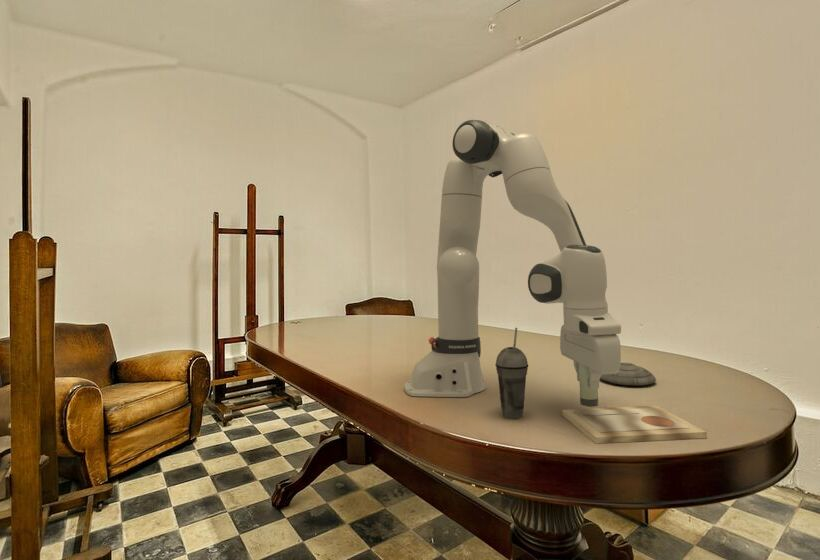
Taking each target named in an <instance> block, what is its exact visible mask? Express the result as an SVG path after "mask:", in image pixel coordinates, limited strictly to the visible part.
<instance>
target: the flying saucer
mask: <svg viewBox="0 0 820 560" xmlns="http://www.w3.org/2000/svg"><path fill="white" fill-rule="evenodd" d="M600 380H603V381H605V382H607V383H611V384H615V385H622V386H631V387H632V386H638V387H639V386H647V385H651V384H653V383H655V382H656V381H657V378H656V377H655V375H654V374H653V373H652V372H651V371H649V370H648V369H646V368H645V367H642V366H640V365H639V366H638V365H637V364H634V363H630V362H621V364H620V369H619V371H618V373H616V374H602V375H601V377H600Z"/></svg>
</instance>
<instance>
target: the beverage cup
mask: <svg viewBox="0 0 820 560" xmlns="http://www.w3.org/2000/svg"><path fill="white" fill-rule="evenodd" d="M517 334H518V327H515V329H514V336H513V346H508V347H505V348H503V349H502V350H501V351H500V352H499V353H498V355H497V356H496V359H495V368H496V374H497V378H498V379H497V380H498V386H499V387H498V389H499V398H500V399H499V400H500V407H501V413H502V415H501V416H502V417H503V418H505V419H509V420H520V419H522V418H523V416H524V410H525V399H526V398H525V397H526V396H525V394H526V382H527V374H528V367H529V362H528V359H527V356H526V355H525V353H524V352H523V351H522V350H521V349H519V347H516V346H517V345H516V344H517V337H518V335H517Z"/></svg>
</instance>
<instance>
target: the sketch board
mask: <svg viewBox="0 0 820 560" xmlns="http://www.w3.org/2000/svg"><path fill="white" fill-rule="evenodd" d="M561 416H562V417H564V418H565V419H566V420H567V421H568V422H569V423H571V424H572V425H573V426H574V427H575V428H577V429H578V430H579V431H580V432H581V433H583V435H584V436H586V437H587V438H588V439H589V440H591V441H592V442H593V443H595V444H613V443H616V444H617V443H632V442H633V443H634V442H653V441H656V442H657V441H674V440H692V439H693V440H694V439H695V440H696V439H708V432H707V431H706V430H704V429H702V428H700V427H698V426H696V425H694V424H692V423H690V422H689V421H687V420H684V419H682V418H681V417H679V416H677V415H675V414H674V413H671V412H669V411H668V410H666V409H664V408H662V407H659V406H658V405H637V406H618V407H617V406H616V407H595V408H593V407H591V408H590V407H588V408H574V409H573V408H572V409H570V408H569V409H561Z"/></svg>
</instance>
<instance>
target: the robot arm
mask: <svg viewBox="0 0 820 560" xmlns="http://www.w3.org/2000/svg"><path fill="white" fill-rule="evenodd" d="M452 151H453V153H454V155H455V157H453V158H451V159H450V160H449V161H448V163H447V165H446V169H445V173H444V177H443V182H442V189H441V199H440V200H441V201H440V203H441V204H440V215H439V217H440V218H439V219H440V220H439V232H438V233H439V234H438V247H437V258H436V259H437V260H436V271H437V272H436V274H437V317H438V318H437V323H438V327H437V328H438V329H437V331H438V336H437V337H436V338H435V337H434V336H431V337H429V338H428V343H429V345H430V346H431V351H430V352H428V354H426V355H425V356H424V357H423V358H421V359H420V360H419V361H417V362H416V363H415V364H414V367H413V370H412V374H411V379H408V380H406V381H405V382H404V386H403V387H404V391H405V393H406V394H407V395H408V396H412V397H429V398H431V397H434V398H435V397H437V398H438V397H439V398H442V397H445V398H469V397H471V396H472V395H474V394H478V393H479V392H480V393H481V392H483V391H484V390H485V389H486V384H485V381H484V378H483V374H482V373H483V371H482V367H481V366H482V365H481V359H480V358H481V354H482V346H481V345H482V344H481V337H480V336H479V299H480V298H479V297H480V296H479V295H480V294H479V291H480V262H479V260H478V257H477V252H478V251H477V250H478V243H479V236H480V235H479V234H480V229H481V228H480V227H481V218H482V217H481V215H482V202H483V201H482V200H483V186H484V181H485V179H486V178H487V177H491V178H496V177H498V176H501V175H502V178H503V182H504V187H505V192H506V195H507V198H508V201H509V203H510V205H511V206H512V207H513V209H514V210H516V211H517V212H518V213H520V214H521V215H523V216H525V217H527V218H528V217H529V218H530V219H533V220H536V221H538V222H540V224H543V225H544V226H545V227H546V228H548V229H549V230H550V232H551V233H552V234H553V235H554V238H555V241H556V244H557V246H558V248H559V251H560V252H559V254H557V255H556V256H554V257H552V258H550V259H548V260H545V261H543V262H540V263H537V264H535V265H534V266H533V267H532V268H531V270H530V271H529V273H528V277H527V287H528V288H527V289H528V291H529V294H530V295H531V296H532V298H533V299H534V300H535V301H536V302H538V303H540V304H541V303H543V304H546V305H547V304H559V303H560V304H563V306H562V308H563V309H562V310H563V324H562V325H561V328H560V335H559V337H560V338H559V349H560V354H561V356H562V357H563V356H564V357H566V358H567V359H569V360H572V362H573V367H574V369H575V374H576V379H577V382H579V363H580V364H582V365H584V366H586V367H588V368H589V373H590V378H589V379H588V387H590V388H591V389H598V390H599V388H600V380H601V378H600V377H601V375H602V374H616V373H618V371H619V369H620V364H621V363H622V359H621V354H622V353H621V340H620V338H619V334H621V333H622V325H621V323H620V322H619V321H618V320H616V318H614V317H613V316H612V315H611V313H610V312H609V310H608V309H609V308H608V302H607V300H606V299H607V298H606V292H607V288H608V279H607V274H608V273H607V266H606V260H605V256H604V253H603V251H602V250H601V249H600V248H599V247H597V246H593V245H587V243H586V240H585V239H584V236H583V233H582V231H581V229H580V226H579V224H578V221H577V218H576V216H575V214H574V212H573V210H572V207H571V206H570V204H569V203H568V201H567V200H566V199H565V198H564V197H563V196H562V194H561V192H560V191H559V189H558V187H557V184H556V182H555V180H554V178H553V174H552V171H551V168H550V164H549V161H548V159H547V156H546V153H545V151H544V149H543V147H542V144H541V142H540V140H539V139H538V138H537V136H536V135H534V134H531V133H529V132H528V133H527V132H522V133H517V134H515V133H512V132H509V131H508V130H507V129H505V128H503V127H500V126H498V125H494V124H490V123H487V122H485V121H483V120H480V119H469V120H466V121H463V122H462V123H461V124H459V125H458V127H457V128H456V130H455V132H454V134H453V138H452Z"/></svg>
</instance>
